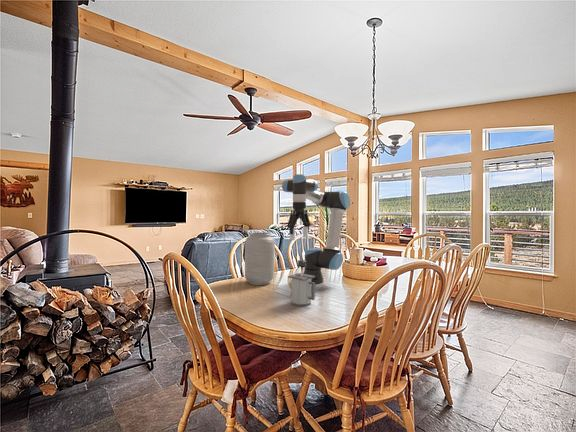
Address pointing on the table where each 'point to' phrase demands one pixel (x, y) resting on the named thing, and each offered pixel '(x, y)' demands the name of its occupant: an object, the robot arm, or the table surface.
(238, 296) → the table surface
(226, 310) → the table surface
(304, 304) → the grey french press
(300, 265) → the plunger
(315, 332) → the table surface
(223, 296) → the table surface
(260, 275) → the vase
